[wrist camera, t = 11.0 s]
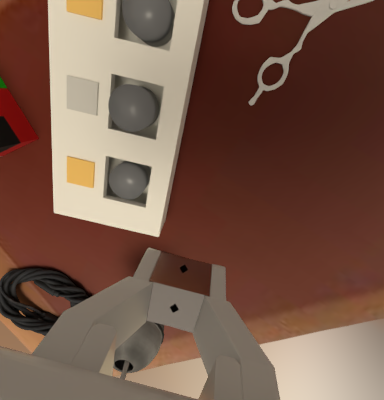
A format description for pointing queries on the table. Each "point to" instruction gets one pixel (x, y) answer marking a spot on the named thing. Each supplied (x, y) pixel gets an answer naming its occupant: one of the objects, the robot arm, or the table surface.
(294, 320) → the table surface
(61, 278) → the cable
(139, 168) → the button
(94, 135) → the button panel
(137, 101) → the button middle
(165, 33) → the button
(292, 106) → the table surface
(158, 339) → the beverage cup
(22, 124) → the puzzle toy
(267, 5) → the scissors
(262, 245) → the table surface
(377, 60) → the table surface
